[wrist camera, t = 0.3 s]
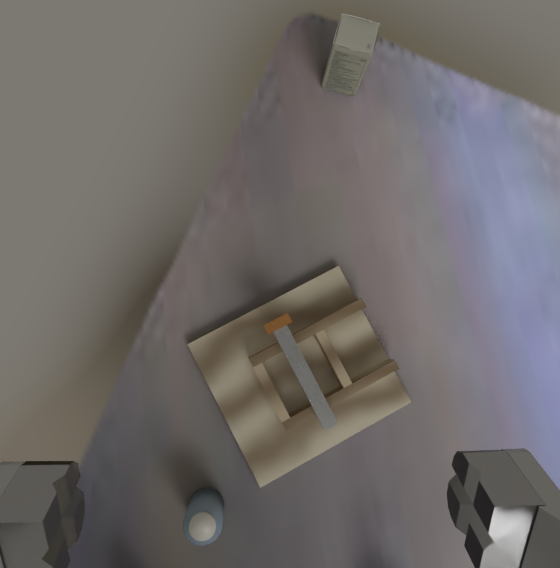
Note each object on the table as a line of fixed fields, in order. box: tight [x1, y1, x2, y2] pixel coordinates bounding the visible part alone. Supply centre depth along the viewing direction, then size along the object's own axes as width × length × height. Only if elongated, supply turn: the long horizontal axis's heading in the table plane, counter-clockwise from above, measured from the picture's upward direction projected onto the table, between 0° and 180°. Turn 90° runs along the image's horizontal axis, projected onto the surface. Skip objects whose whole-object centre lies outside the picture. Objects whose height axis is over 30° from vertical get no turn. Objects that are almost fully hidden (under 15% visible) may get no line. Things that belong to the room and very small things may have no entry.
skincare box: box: [321, 14, 380, 96], centre depth 62 cm, size 5×4×10 cm
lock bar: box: [263, 313, 338, 430], centre depth 58 cm, size 14×3×3 cm, turn 28°
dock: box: [187, 266, 411, 488], centre depth 61 cm, size 20×22×4 cm
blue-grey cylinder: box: [183, 488, 224, 546], centre depth 57 cm, size 4×4×7 cm
